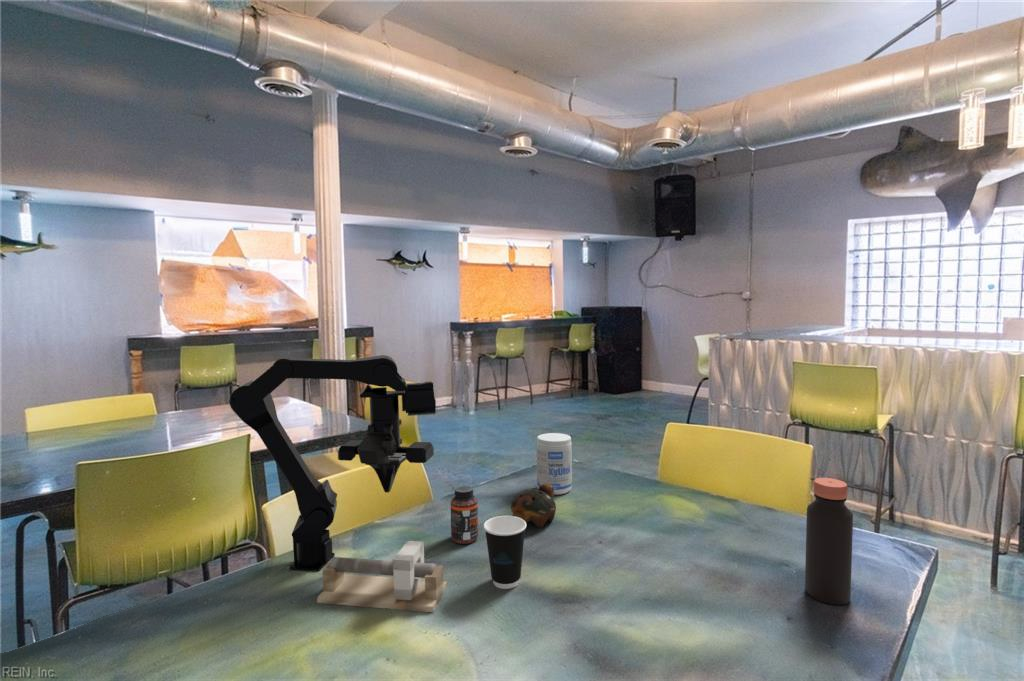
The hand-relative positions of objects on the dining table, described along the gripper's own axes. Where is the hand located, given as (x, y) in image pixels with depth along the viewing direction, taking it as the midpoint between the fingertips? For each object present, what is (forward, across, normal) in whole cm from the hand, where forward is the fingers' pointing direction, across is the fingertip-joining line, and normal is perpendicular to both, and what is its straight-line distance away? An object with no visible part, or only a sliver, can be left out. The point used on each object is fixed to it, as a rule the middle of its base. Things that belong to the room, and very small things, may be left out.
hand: (387, 491), depth 108 cm
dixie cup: (+13, +26, -8) cm, 30 cm away
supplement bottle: (+13, +14, +8) cm, 21 cm away
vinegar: (+13, +82, -5) cm, 83 cm away
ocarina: (+13, +28, +18) cm, 36 cm away
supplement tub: (+13, +31, +40) cm, 52 cm away
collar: (+12, +10, -15) cm, 21 cm away
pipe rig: (+13, +5, -15) cm, 20 cm away
